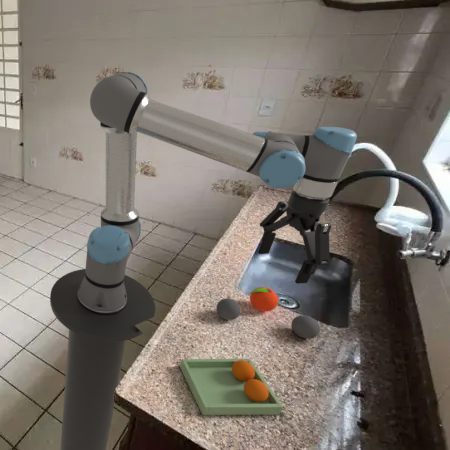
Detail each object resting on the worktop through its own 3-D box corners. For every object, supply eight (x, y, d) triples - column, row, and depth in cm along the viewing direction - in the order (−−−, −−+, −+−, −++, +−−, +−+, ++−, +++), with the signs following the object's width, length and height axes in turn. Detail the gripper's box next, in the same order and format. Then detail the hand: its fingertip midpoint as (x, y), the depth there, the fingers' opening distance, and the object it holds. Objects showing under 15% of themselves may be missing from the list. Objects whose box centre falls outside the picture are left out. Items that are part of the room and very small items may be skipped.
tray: (202, 414, 75) (205, 407, 74) (179, 366, 86) (181, 359, 85) (279, 414, 75) (283, 406, 74) (246, 365, 86) (249, 358, 85)
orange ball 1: (225, 373, 84) (230, 360, 81) (237, 366, 85) (242, 353, 83) (243, 388, 80) (249, 375, 78) (255, 380, 82) (262, 367, 80)
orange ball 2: (236, 393, 79) (242, 379, 77) (249, 385, 81) (255, 371, 79) (256, 410, 75) (263, 396, 73) (269, 401, 77) (276, 387, 75)
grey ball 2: (283, 331, 96) (291, 315, 93) (295, 324, 98) (303, 307, 96) (307, 346, 91) (315, 329, 88) (319, 338, 94) (328, 321, 91)
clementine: (248, 314, 102) (256, 295, 98) (239, 299, 108) (246, 280, 104) (278, 317, 101) (286, 298, 97) (267, 301, 107) (274, 283, 103)
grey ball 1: (209, 314, 102) (214, 298, 99) (223, 307, 105) (228, 291, 102) (228, 327, 98) (234, 311, 95) (241, 320, 100) (248, 304, 97)
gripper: (376, 216, 73) (334, 296, 83) (286, 175, 95) (261, 242, 105) (343, 218, 72) (305, 298, 82) (260, 176, 94) (238, 243, 104)
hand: (280, 266), depth 94 cm, fingers open, 13 cm apart
